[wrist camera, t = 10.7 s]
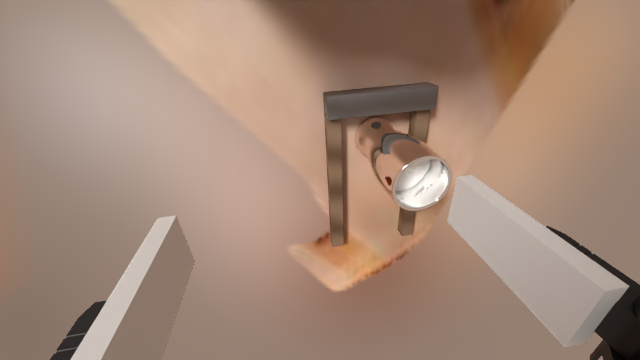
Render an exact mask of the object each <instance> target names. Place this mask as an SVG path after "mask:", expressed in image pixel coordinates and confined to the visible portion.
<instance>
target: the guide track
mask: <svg viewBox="0 0 640 360" xmlns="http://www.w3.org/2000/svg"><path fill="white" fill-rule="evenodd" d="M438 87H439V86H437V85H433V84H430V83H417V84H406V85H396V86H385V87H374V88H364V89H353V90H342V91H332V92H323V97H324V116H325V136H326V155H327V175H328V195H329V214H330V234H331V242H332V246H333V247H334V246H340V245H344V237H343V187H342V137H341V119H344V118H353V117H363V116H372V115H382V114H391V113H401V112H410V111H411V114H410V123H409V132H408V135H411V136H413V137H415V138H417V139H419V140H421V141H422V142H424V143H425V142H426V135H427V128H428V121H429V114H430V109H435V106H436V100H437V93H438ZM414 217H415V211H409V210H405V209H403V208H401V207H400V214H399V223H398V231H399V232H400V234H401V235H402V236H403V235H410V234H412V231H413V224H414Z"/></svg>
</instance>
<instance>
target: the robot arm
mask: <svg viewBox="0 0 640 360" xmlns="http://www.w3.org/2000/svg"><path fill="white" fill-rule="evenodd" d="M447 222H448V223H449V224H450V225H451V226H452V227H453V228H454V229H455V230H456V231H457V232H458V234H460V236H461V237H462V238H463V239H464V240H465V241H466V242H467V243H468V244H469V245H470V246H471V248H472V249H473V250H474V251H475V252H476V253H477V254H478V255H479V256H480V257H481V258H482V259H483V260H484V261H485V262H486V264H487V265H488V266H489V267H490V268H491V269H492V270H493V271H494V272H495V273H496V274H497V275H498V276H499V277H500V278H501V280H503V282H504V283H505V284H506V285H507V286H508V287H509V288H510V289H511V290H512V291H513V292H514V293H515V295H516V296H517V297H518V298H519V299H520V300H521V301H522V302H523V303H524V304H525V305H526V306H527V307H528V308H529V310H530V311H532V313H533V314H534V315H535V316H536V317H537V318H538V319H539V320H540V321H541V322H542V323H543V325H544V326H546V328H547V329H548V330H549V331H550V332H551V333H552V334H553V335H554V336H555V337H556V338H557V339H558V341H559V342H560V343H561V344H562V345H563V346H564V347H565V348H566V347H570V346H574V345H579V344H583V343H586V342H587V341H588V339H589V338H590V337H591V336H592V334H593V333H594V332H596V333H597V334H598V335H599V336H600V337H601V338H603V341H602V342H601V343H600V344H599V346H598V347H597V348H596V349H595V351H594V352H593V353H592V354H591V355H590V360H598V359H599V358H600V356H603V360H640V285H639V284H637V283H636V282H635V281H633V280H632V279H630V278H629V277H627V276H626V275H624V274H623V273H621V272H620V271H619V270H617V269H616V268H614V267H612V266H611V265H610V264H608V263H607V262H605V261H604V260H602V259H601V258H599V257H598V256H596V255H595V254H592V253H591V252H590V251H589V250H588V249H586V248H585V247H583V246H580V245H579V243H577V242H576V241H575V240H573V239H572V238H570V237H568V236H567V235H566V234H564V233H562V232H559V231H557V230H555V229H553V228H551V227H548V226H546V227H545V226H543V225H542V224H541V223H539V222H538V221H536V220H535V219H534V218H532V217H531V216H529V215H528V214H526V213H525V212H524V211H522V210H521V209H519V208H518V207H517V206H515V205H514V204H512V203H511V202H509V201H508V200H507V199H505V198H504V197H502V196H501V195H499V194H498V193H496V192H495V191H494V190H492V189H491V188H490V187H488V186H487V185H485V184H484V183H482V182H481V181H480V180H478V179H477V178H475V177H474V176H473V175H466V176H459V177H457V180H456V184H455V189H454V193H453V198H452V202H451V207H450V211H449V216H448V220H447ZM194 262H195V260H194V258H193V256H192V253H191V250H190V248H189V246H188V243H187V240H186V238H185V236H184V233H183V231H182V228H181V226H180V223H179V221H178V218H177V216H170V217H162V218H158V219H157V220H156V222H155V223H154V225H153V227H152V228H151V230H150V232H149V233H148V235H147V236H146V238H145V240H144V241H143V243H142V245H141V246H140V248H139V250H138V251H137V253H136V254H135V256H134V258H133V259H132V261H131V262H130V264H129V266H128V267H127V269H126V271H125V272H124V274H123V276H122V277H121V279H120V280H119V282H118V284H117V285H116V287H115V288H114V290H113V292H112V293H111V295H110V296H109V298H108V300H107V301H101V302H96V303H94V304H93V305H92V306H91V307H90V308H89V309H87V310H86V311H85V312H84V313H83V314H82V315H81V316H80V317H79V318H78V319H77V321H76V322H75V324H74V325H73V327H72V328H71V330H70V331H69V333H68V334H67V338H66V339H64V340H63V341H62V343H61V344H60V346H59V347H58V349H57V353H56V354H54V355H53V356H52V358H51V359H50V360H162V357H163V354H164V351H165V348H166V345H167V342H168V340H169V336H170V334H171V331H172V328H173V325H174V321H175V319H176V316H177V313H178V310H179V307H180V304H181V301H182V298H183V295H184V292H185V289H186V286H187V283H188V280H189V277H190V274H191V271H192V268H193V265H194Z"/></svg>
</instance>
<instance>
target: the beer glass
mask: <svg viewBox="0 0 640 360" xmlns="http://www.w3.org/2000/svg"><path fill="white" fill-rule="evenodd" d="M355 143H356V146H357V148H358V150H359V151H360V152H361V153H363V154H364V155H366V156H367V157H368V159H369V162H370V165H371V168H372V171H373V173H374V175H375V177H376V179H377V181H378V182H379V184H380V185H381V186H382V188H383V189H384V190H385V191H386V192H387V194H388V195H389V196H390V197H391V198H392V199H393V200H394V201H395V202H396V204H397V205H398V206H400V207H401V208H403V209H405V210H409V211H419V210H423V209H426V208H429V207H431V206H433V205H434V204H436V203H437V202H438V201H440V200H441V199H442V198H443V197H444V195H445V194H446V193H447V191H448V189H449V187H450V185H451V182H452V170H451V167H450V165H449V164H448V163H447V162H446V161H445V160H444V159H442V158H441V157H440V156H439V155H438V154H437V153H436V152H435V151H434V150H433V149H432V148H430V147H429V146H428V145H427V144H425V143H424V142H422V141H421V140H419V139H417V138H415V137H413V136H411V135H408V134H405V133H402V132H399V131H396V130H395V129H394V128H393V126H392V125H391V123H390V122H389V121H388V120H386V119H384V118H380V117H374V118H370V119H368V120H366V121H365V122H363V123H362V124H361V125H360V126H359V128H358V130H357V132H356V135H355Z"/></svg>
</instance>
